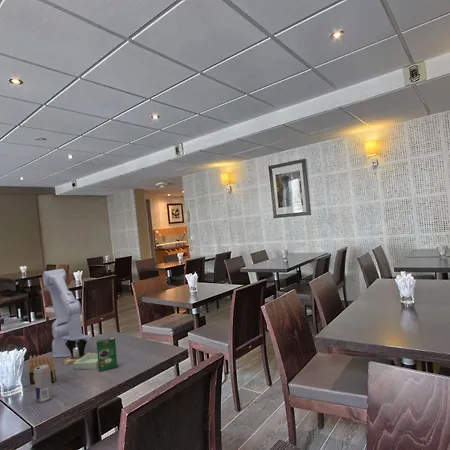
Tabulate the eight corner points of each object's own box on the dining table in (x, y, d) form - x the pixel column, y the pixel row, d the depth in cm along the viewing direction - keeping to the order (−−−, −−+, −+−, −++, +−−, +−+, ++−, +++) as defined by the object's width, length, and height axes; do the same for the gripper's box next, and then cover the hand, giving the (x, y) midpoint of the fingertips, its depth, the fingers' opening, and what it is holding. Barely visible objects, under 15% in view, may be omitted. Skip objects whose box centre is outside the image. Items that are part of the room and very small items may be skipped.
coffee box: (117, 365, 151) (114, 336, 151) (118, 367, 148) (115, 337, 148) (98, 369, 148) (95, 340, 148) (98, 372, 146) (95, 341, 146)
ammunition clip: (56, 381, 141) (53, 352, 141) (53, 383, 139) (50, 354, 139) (32, 382, 142) (29, 354, 142) (29, 384, 140) (26, 356, 140)
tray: (74, 370, 151) (73, 363, 151) (88, 359, 162) (87, 353, 162) (96, 369, 149) (95, 362, 149) (109, 359, 160) (108, 352, 160)
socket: (62, 364, 159) (62, 361, 159) (75, 356, 169) (74, 353, 169) (81, 363, 157) (81, 360, 157) (93, 355, 167) (93, 352, 167)
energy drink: (40, 396, 128) (37, 365, 128) (55, 394, 129) (51, 363, 129) (34, 403, 123) (30, 371, 123) (49, 401, 123) (45, 369, 123)
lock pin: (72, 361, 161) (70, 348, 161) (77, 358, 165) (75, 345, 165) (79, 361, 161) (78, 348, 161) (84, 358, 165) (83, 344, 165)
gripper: (93, 324, 165) (95, 351, 165) (67, 325, 169) (70, 352, 169) (83, 329, 158) (86, 357, 158) (57, 330, 162) (60, 358, 162)
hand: (77, 355), depth 163 cm, fingers open, 4 cm apart
